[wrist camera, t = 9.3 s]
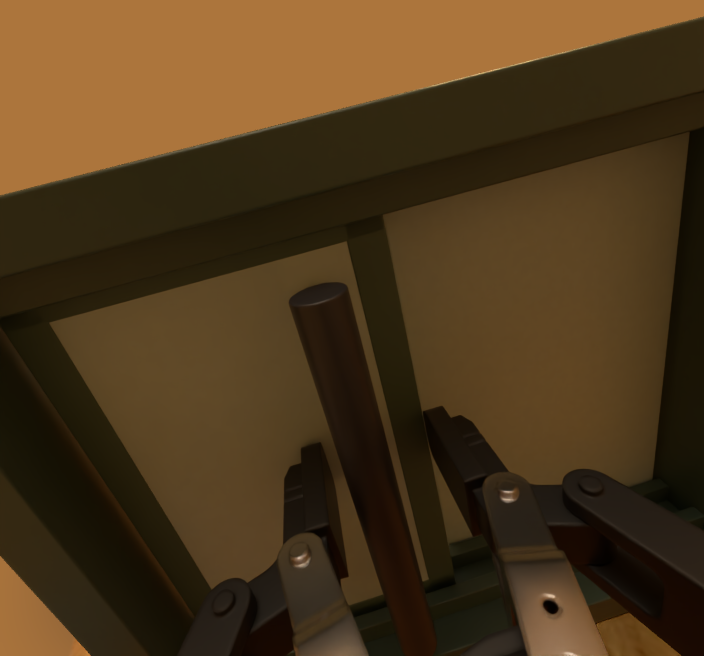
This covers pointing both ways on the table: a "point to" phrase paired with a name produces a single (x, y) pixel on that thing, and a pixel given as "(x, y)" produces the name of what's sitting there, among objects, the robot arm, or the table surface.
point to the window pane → (256, 414)
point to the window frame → (406, 303)
